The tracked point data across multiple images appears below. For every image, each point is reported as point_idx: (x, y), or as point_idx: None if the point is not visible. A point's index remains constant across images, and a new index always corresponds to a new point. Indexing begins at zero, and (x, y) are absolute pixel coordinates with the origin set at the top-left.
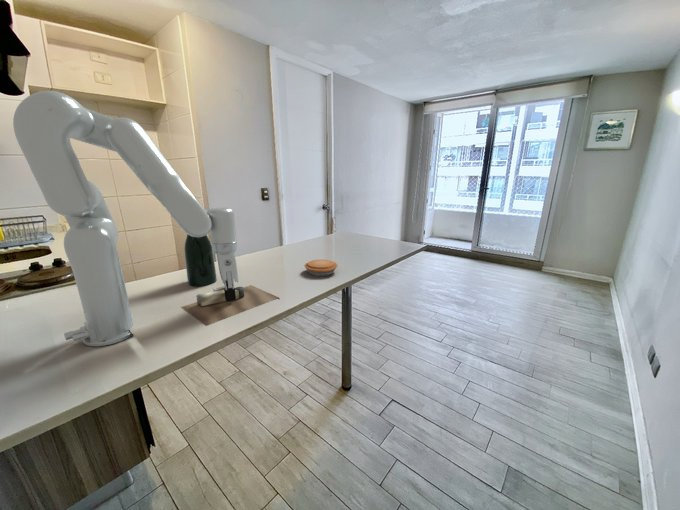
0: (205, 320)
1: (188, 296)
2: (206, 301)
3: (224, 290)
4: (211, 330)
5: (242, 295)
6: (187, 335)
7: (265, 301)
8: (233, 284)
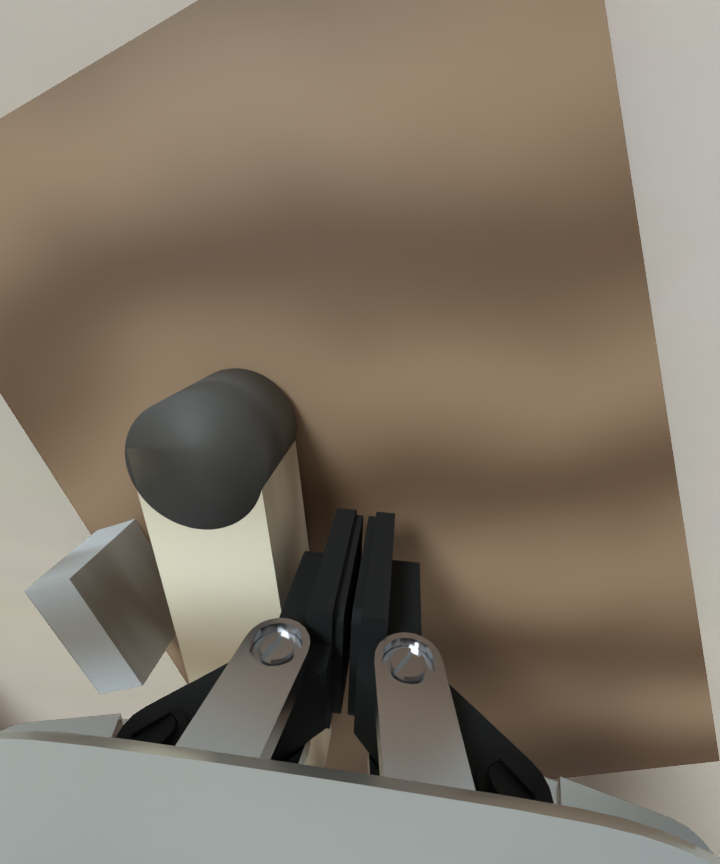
0: (615, 747)
1: (30, 709)
2: (322, 735)
3: (332, 706)
4: (717, 697)
5: (281, 407)
6: (668, 800)
7: (569, 124)
8: (461, 752)
